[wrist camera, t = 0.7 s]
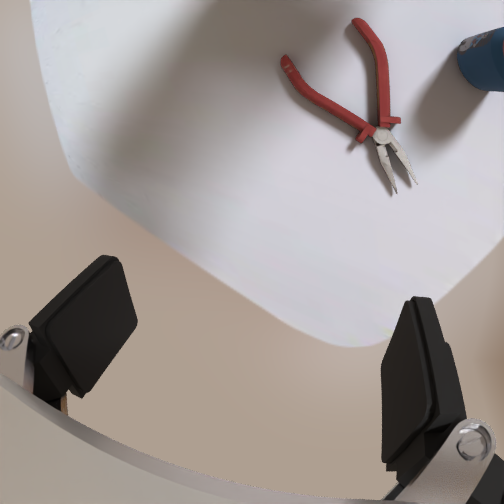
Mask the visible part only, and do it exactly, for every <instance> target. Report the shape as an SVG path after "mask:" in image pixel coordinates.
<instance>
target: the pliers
mask: <svg viewBox="0 0 504 504" xmlns="http://www.w3.org/2000/svg"><path fill="white" fill-rule="evenodd" d="M352 23H353V25H354V26H355V27H356V29H357V30H358V31H359V33H360V34H361V35H362V37H363V38H364V39H365V41H366V42H367V43H368V45H369V47H370V48H371V51H372V53H373V56H374V60H375V67H376V85H377V116H378V126H376V127H373V126H372V125H370V124H369V123H367V122H366V121H364V120H363V119H361V118H359V117H358V116H356V115H355V114H353V113H352V112H350V111H348V110H347V109H345V108H343V107H342V106H340V105H338V104H337V103H335V102H333V101H332V100H330V99H328V98H326V97H325V96H323V95H321V94H319V93H318V92H316V91H315V90H314V89H312V88H311V87H310V86H309V85H308V84H307V83H306V82H305V81H304V80H303V78H302V77H301V75H300V74H299V72H298V71H297V69H296V68H295V66H294V65H293V63H292V62H291V60H290V59H289V57H288V56H287V55H284V56H283V57H282V58H281V67H282V68H283V70H284V71H285V73H286V75H287V76H288V78H289V79H290V81H291V82H292V84H293V86H294V87H295V89H296V90H297V91H298V92H299V93H300V94H301V95H302V96H304V97H305V98H306V99H308V100H309V101H311V102H312V103H314V104H315V105H317V106H319V107H321V108H322V109H324V110H326V111H328V112H329V113H331V114H333V115H334V116H336V117H338V118H339V119H341V120H343V121H344V122H346V123H348V124H349V125H351V126H352V127H354V128H355V129H357V130H359V131H360V132H359V133H358V135H357V137H356V138H355V139H356V140H357V141H358V142H360V143H362V142H363V141H364V140H365V138H366V136H367V135H368V136H369V137H373V140H374V143H375V146H376V149H377V153H378V156H379V159H380V162H381V165H382V166H383V168H384V170H385V172H386V174H387V176H388V178H389V180H390V182H391V184H392V186H393V188H394V190H395V192H396V194H397V189H396V185H395V180H394V176H393V172H392V168H391V164H390V160H389V156H388V154H387V151H386V147H385V144H387V143H388V144H389V145H390V146H391V148H392V149H393V151H394V153H395V154H396V155H397V157H398V158H399V160H400V161H401V162H402V164H403V165H404V167H405V168H406V169H407V171H408V172H409V174H410V175H411V177H412V178H413V180H414V181H415V183H416V184H417V185H418V183H417V181H416V178H415V175H414V173H413V170H412V168H411V165H410V163H409V161H408V158H407V156H406V153H405V152H404V150H403V149H402V147H401V146H400V145H399V143H398V142H397V140H396V139H395V138H394V136H393V135H392V134H391V132H390V131H389V130H388V128H387V127H390V123H399V124H400V123H401V118H400V117H392V116H390V86H389V68H388V60H387V55H386V52H385V49H384V46H383V44H382V42H381V41H380V40H379V38H378V37H377V36H376V34H375V33H374V32H373V31H372V29H371V28H370V27H369V25H368V24H367V23H366V22H365V21H364V20H362V19H360V18H354V19H352Z"/></svg>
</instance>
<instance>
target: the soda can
mask: <svg viewBox="0 0 504 504" xmlns="http://www.w3.org/2000/svg"><path fill="white" fill-rule="evenodd" d="M457 60H458V65H459V68H460V70H461V72H462V74H463V75H464V77H465V78H466V79H467V81H468V82H469V83H470V84H472V85H473V86H474V87H476V88H478V89H480V90H484V91H498V92H504V27H501V28H498V29H494V30H491V31H488V32H485V33H481V34H478V35H475V36H472V37H469V38H466V39H465V40H463V41H462V42H461V44H460V45H459V48H458V51H457Z"/></svg>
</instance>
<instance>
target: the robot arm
mask: <svg viewBox="0 0 504 504" xmlns="http://www.w3.org/2000/svg"><path fill="white" fill-rule="evenodd" d="M137 322H138V320H137V316H136V313H135V309H134V306H133V303H132V300H131V296H130V293H129V289H128V285H127V282H126V278H125V274H124V271H123V267H122V264H121V262H119V260H118V258H117V257H114V256H108V255H101V256H100V257H98V258H97V259H96V260H95V261H94V262H93V263H91V264H90V265H89V266H88V267H87V268H86V269H85V270H84V271H82V272H81V273H80V274H79V275H78V276H77V277H76V278H75V279H74V280H72V281H71V282H70V283H69V284H68V285H67V286H66V287H65V288H64V289H63V290H62V291H61V292H59V293H58V294H57V295H56V296H55V297H54V298H53V299H52V300H51V301H50V302H49V303H48V304H47V305H46V306H45V307H44V308H43V309H42V310H41V311H40V312H39V313H38V314H37V315H36V316H35V317H34V318H33V319H32V320H31V321H30V322H29V325H30V327H31V329H32V332H31V333H29V331H28V329H27V327H25V326H23V325H14V326H12V327H9V328H8V329H6V330H5V331H4V332H3V333H2V334H1V335H0V504H504V461H503V460H502V459H501V458H500V457H499V456H497V455H496V454H495V449H496V438H495V434H494V432H493V430H492V429H491V427H490V426H489V425H488V424H487V423H486V422H484V421H482V420H479V419H474V418H471V419H467V417H466V411H465V406H464V401H463V396H462V391H461V387H460V383H459V378H458V374H457V370H456V366H455V362H454V358H453V355H452V351H451V348H450V346H449V344H448V343H447V342H445V341H444V338H443V334H442V331H441V327H440V324H439V321H438V318H437V314H436V311H435V308H434V305H433V302H432V300H431V298H427V297H416V296H413V297H412V298H411V300H410V301H405V303H404V306H403V309H402V311H401V314H400V317H399V320H398V322H397V325H396V328H395V330H394V333H393V336H392V338H391V341H390V343H389V346H388V348H387V351H386V353H385V355H384V358H383V360H382V364H381V384H382V385H381V387H382V456H381V458H382V462H383V463H386V471H397V477H396V480H397V481H398V482H397V483H396V485H395V486H394V487H393V488H392V489H391V490H390V491H389V492H388V493H387V494H386V495H385V496H384V497H383V498H382V499H381V500H365V499H342V498H328V497H319V496H310V495H302V494H295V493H288V492H281V491H275V490H269V489H264V488H259V487H254V486H249V485H244V484H240V483H236V482H232V481H227V480H224V479H220V478H216V477H212V476H209V475H205V474H202V473H198V472H195V471H192V470H189V469H186V468H183V467H180V466H177V465H174V464H171V463H168V462H166V461H163V460H160V459H157V458H155V457H152V456H150V455H147V454H145V453H142V452H140V451H137V450H135V449H133V448H131V447H128V446H126V445H124V444H122V443H119V442H117V441H115V440H112V439H111V438H108V437H107V436H105V435H103V434H100V433H99V432H97V431H94V430H92V429H91V428H89V427H87V426H85V425H83V424H81V423H80V422H78V421H76V420H74V419H72V418H70V417H69V416H68V409H67V394H66V392H67V391H68V389H69V390H70V392H71V393H72V394H74V395H76V396H78V397H80V398H83V397H84V395H85V394H86V393H88V392H90V391H91V389H92V388H93V387H94V385H95V384H96V382H97V381H98V379H99V378H100V376H101V375H102V374H103V372H104V371H105V369H106V368H107V367H108V365H109V364H110V363H111V361H112V360H113V358H114V357H115V356H116V354H117V353H118V352H119V350H120V349H121V347H122V346H123V345H124V343H125V342H126V341H127V339H128V338H129V337H130V335H131V334H132V332H133V331H134V330H135V328H136V326H137Z"/></svg>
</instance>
